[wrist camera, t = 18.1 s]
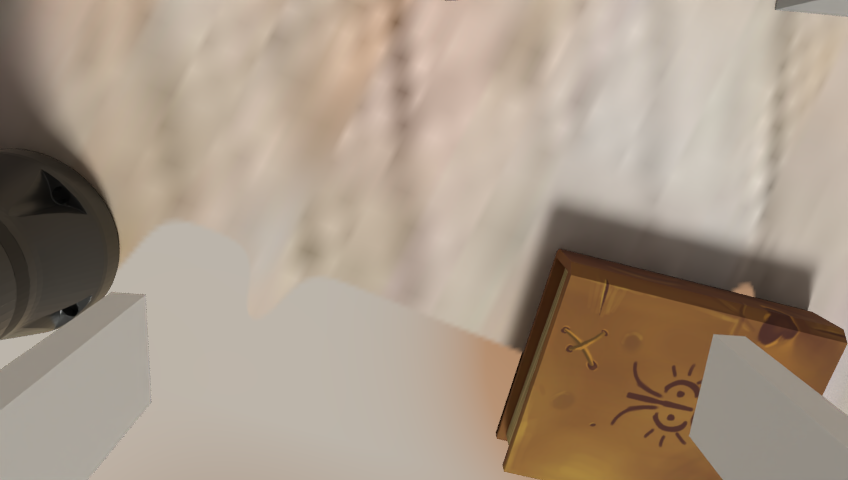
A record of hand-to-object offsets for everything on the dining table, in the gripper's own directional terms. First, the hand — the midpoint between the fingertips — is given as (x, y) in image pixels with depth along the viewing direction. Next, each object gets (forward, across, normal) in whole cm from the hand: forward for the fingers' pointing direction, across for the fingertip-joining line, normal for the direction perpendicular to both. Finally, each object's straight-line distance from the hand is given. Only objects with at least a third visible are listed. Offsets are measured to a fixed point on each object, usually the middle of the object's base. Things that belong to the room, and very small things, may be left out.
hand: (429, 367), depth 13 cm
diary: (+34, +22, -17) cm, 44 cm away
